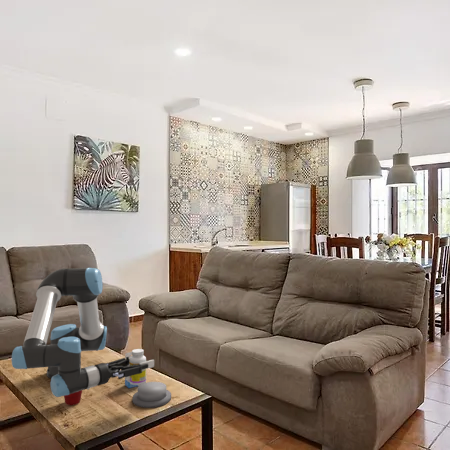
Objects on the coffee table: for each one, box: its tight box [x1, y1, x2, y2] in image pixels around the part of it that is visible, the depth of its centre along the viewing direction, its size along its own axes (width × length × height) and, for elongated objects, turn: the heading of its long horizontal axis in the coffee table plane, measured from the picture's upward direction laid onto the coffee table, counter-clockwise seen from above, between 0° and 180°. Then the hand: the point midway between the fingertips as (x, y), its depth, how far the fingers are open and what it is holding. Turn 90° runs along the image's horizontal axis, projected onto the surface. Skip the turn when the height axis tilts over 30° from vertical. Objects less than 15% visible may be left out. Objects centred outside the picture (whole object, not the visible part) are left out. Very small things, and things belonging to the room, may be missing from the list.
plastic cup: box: [63, 390, 83, 406], centre depth 165 cm, size 11×11×12 cm
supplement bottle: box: [129, 348, 147, 385], centre depth 161 cm, size 7×7×13 cm
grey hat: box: [132, 381, 172, 409], centre depth 168 cm, size 16×16×5 cm
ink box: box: [124, 351, 147, 389], centre depth 183 cm, size 8×5×15 cm, turn 123°
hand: (148, 360), depth 164 cm, fingers closed on supplement bottle, 7 cm apart
